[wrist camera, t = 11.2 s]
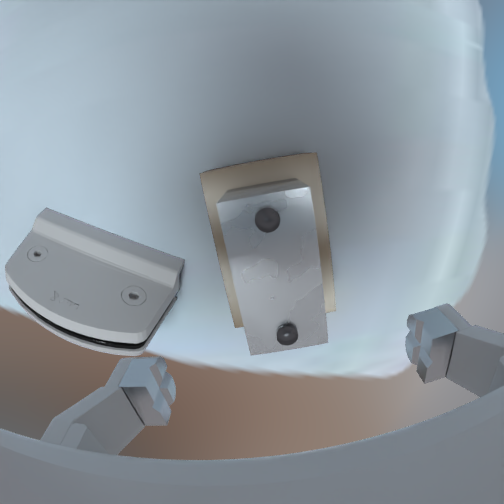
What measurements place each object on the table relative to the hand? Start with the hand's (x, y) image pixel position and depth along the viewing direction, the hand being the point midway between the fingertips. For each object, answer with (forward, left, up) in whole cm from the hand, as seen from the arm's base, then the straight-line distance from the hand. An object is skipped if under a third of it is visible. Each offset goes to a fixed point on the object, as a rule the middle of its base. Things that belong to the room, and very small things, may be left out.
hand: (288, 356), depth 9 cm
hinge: (+1, -17, -18) cm, 25 cm away
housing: (0, 0, -13) cm, 13 cm away
